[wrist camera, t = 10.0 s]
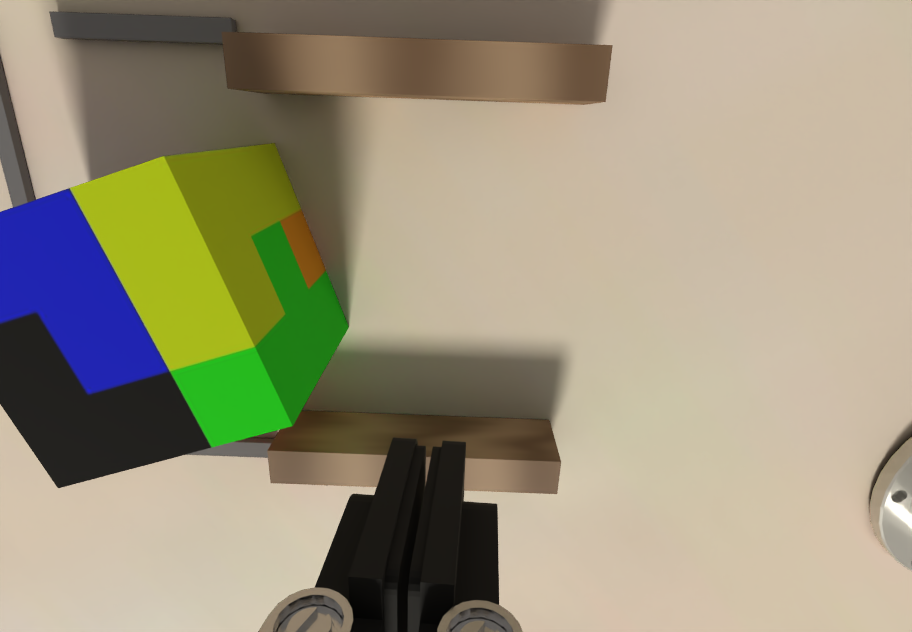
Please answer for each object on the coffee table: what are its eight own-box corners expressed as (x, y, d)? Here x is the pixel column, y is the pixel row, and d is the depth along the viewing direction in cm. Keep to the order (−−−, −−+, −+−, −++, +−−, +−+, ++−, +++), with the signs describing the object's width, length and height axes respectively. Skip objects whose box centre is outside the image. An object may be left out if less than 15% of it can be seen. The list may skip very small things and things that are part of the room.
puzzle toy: (94, 203, 27) (-107, 248, 17) (275, 142, 25) (163, 156, 16) (185, 373, 30) (58, 488, 21) (349, 326, 29) (292, 426, 19)
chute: (589, 56, 24) (612, 45, 20) (546, 448, 31) (557, 494, 27) (259, 45, 24) (221, 31, 20) (294, 439, 31) (270, 482, 27)
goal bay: (235, 19, 24) (230, 17, 23) (278, 452, 32) (275, 458, 31) (-29, 10, 24) (-39, 8, 23) (81, 445, 32) (76, 450, 31)
